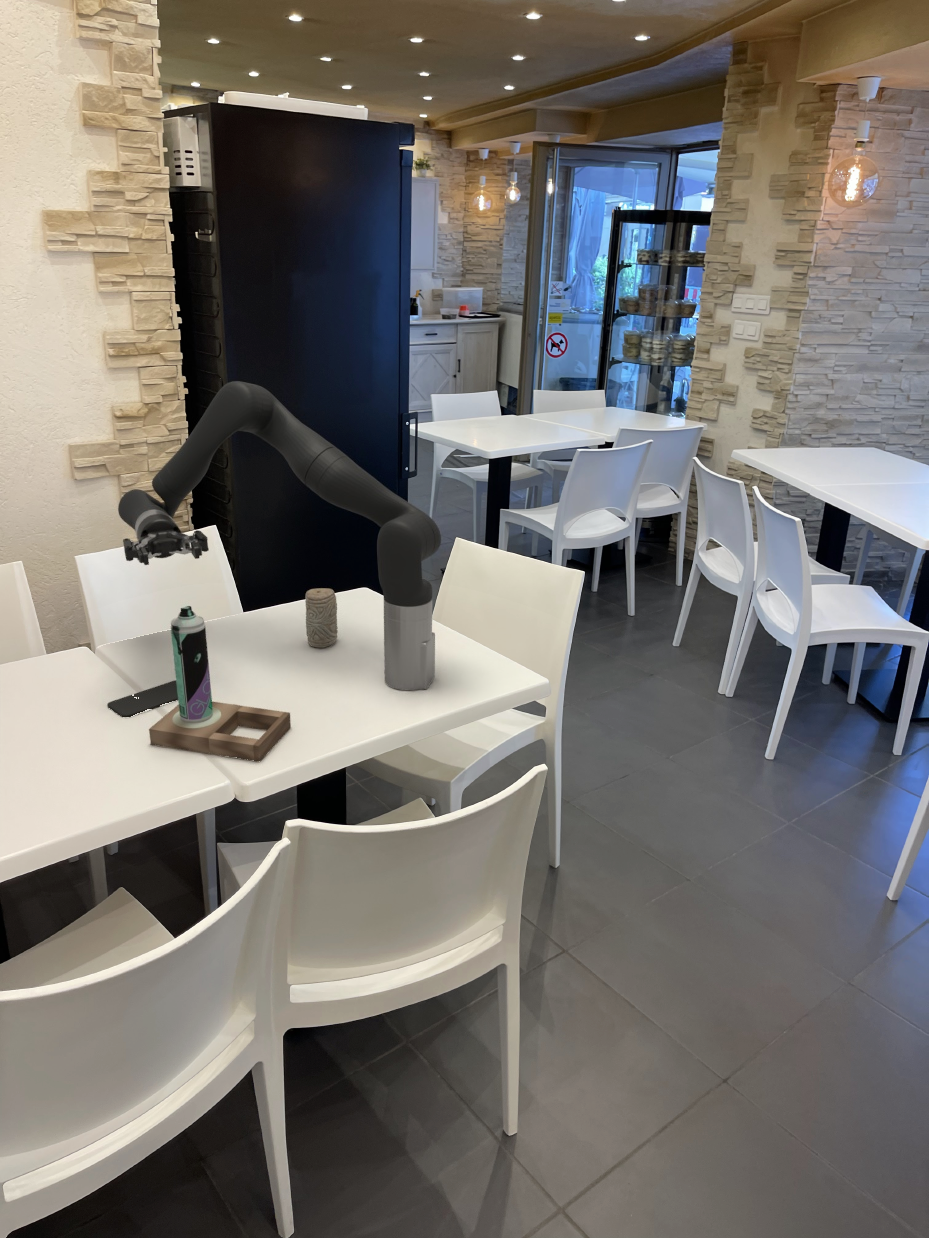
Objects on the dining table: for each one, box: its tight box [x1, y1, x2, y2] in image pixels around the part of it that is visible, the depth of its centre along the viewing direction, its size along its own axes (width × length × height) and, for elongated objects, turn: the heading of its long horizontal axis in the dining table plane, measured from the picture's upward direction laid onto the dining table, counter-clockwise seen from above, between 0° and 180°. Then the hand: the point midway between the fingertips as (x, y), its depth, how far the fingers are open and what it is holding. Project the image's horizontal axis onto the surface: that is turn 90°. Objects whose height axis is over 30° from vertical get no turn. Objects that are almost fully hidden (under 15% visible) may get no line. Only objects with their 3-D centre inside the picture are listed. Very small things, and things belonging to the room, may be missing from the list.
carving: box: [304, 587, 338, 649], centre depth 190 cm, size 6×8×12 cm
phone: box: [107, 679, 178, 718], centre depth 167 cm, size 7×1×15 cm
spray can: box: [170, 605, 213, 723], centre depth 151 cm, size 6×6×20 cm
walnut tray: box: [148, 700, 292, 762], centre depth 154 cm, size 20×12×3 cm, turn 76°
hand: (172, 556), depth 156 cm, fingers open, 8 cm apart
